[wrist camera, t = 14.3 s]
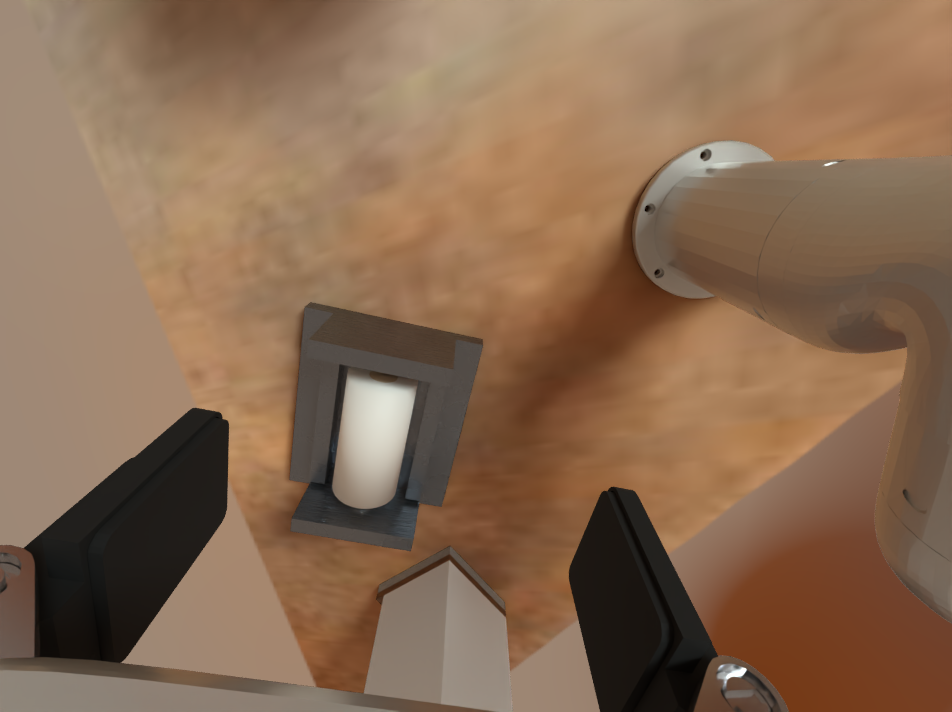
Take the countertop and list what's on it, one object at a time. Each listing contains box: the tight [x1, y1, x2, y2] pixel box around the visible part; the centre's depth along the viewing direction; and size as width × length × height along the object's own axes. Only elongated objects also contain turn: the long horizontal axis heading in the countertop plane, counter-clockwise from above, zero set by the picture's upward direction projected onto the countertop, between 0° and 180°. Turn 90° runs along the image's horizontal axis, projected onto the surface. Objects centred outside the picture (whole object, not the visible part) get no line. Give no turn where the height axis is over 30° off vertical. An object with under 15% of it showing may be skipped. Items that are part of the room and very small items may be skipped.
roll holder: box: [290, 302, 483, 551], centre depth 41 cm, size 16×19×8 cm
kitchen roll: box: [332, 367, 418, 509], centre depth 41 cm, size 6×12×6 cm, turn 167°
